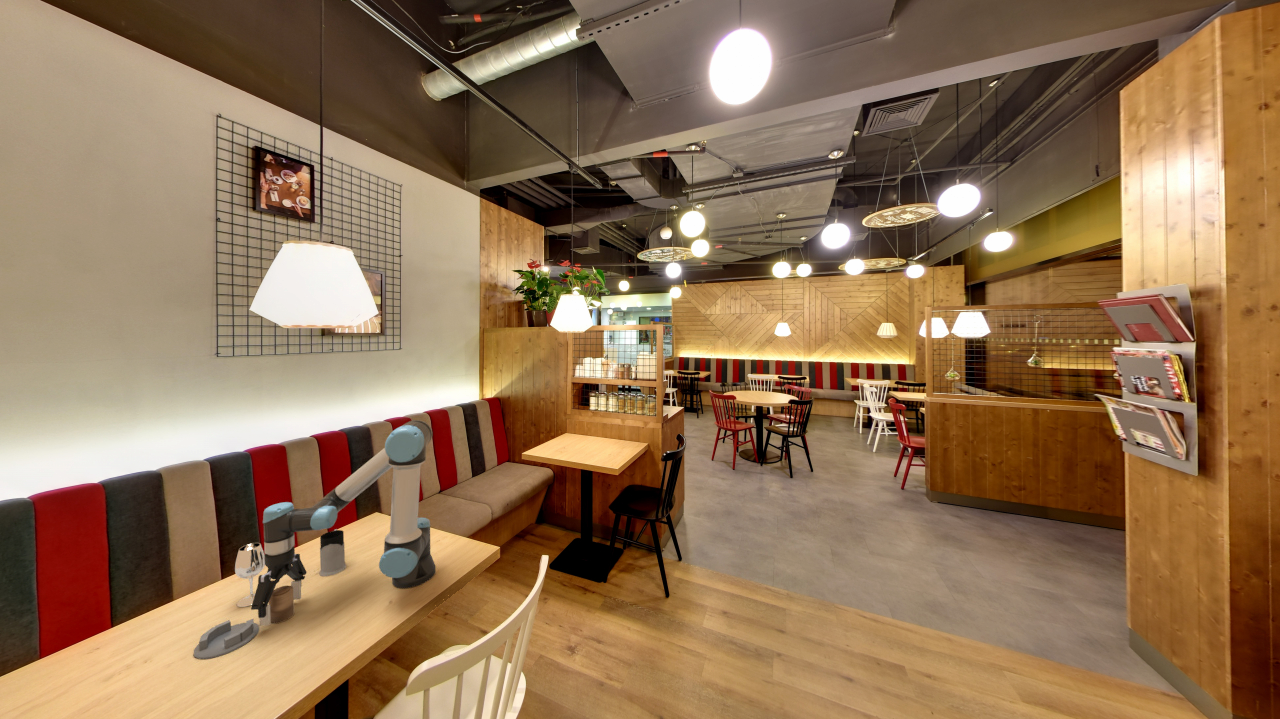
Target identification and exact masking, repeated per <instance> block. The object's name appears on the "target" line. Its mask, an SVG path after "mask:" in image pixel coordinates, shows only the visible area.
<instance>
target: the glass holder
mask: <svg viewBox="0 0 1280 719" xmlns="http://www.w3.org/2000/svg"><path fill="white" fill-rule="evenodd" d="M344 536H345V535H344V531H343V530H342V529H337V528H336V529H334V530H330V531H328V532H325V533H323V534H322V535H320V541H319V542H320V546H319V556H320V557H319V558H320V571H319V576H321V577H330V575H331V576H335V575H337V574H339V573H341V572H343V571H345V569H346V568H347V564H346V563H345V562H346V559H345V558H346V557H345V556H346V555H345V553H346V551H345V539H344Z"/></svg>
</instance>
